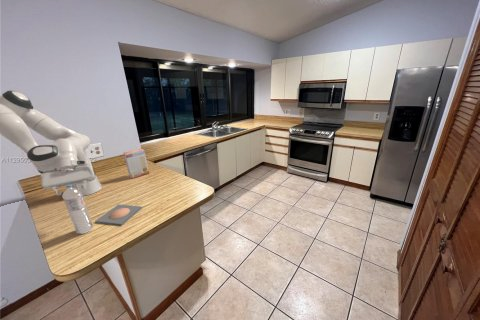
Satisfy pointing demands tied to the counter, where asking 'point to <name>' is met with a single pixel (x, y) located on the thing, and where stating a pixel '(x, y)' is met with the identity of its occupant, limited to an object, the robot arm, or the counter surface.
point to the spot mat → (119, 214)
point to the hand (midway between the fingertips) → (71, 191)
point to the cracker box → (136, 163)
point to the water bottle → (77, 210)
